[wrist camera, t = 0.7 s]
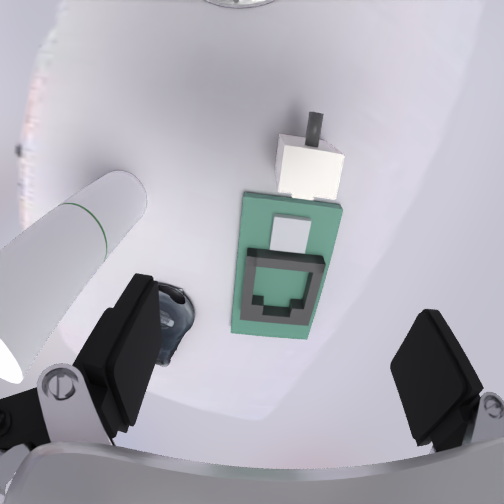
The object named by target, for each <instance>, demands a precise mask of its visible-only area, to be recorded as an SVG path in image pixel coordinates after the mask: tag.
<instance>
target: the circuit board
mask: <svg viewBox="0 0 504 504" xmlns="http://www.w3.org/2000/svg"><path fill="white" fill-rule="evenodd" d="M342 212H343V209H342V207H341V206H340V205H338V204H332V203H325V202H318V201H311V200H304V199H296V198H288V197H280V196H272V195H264V194H255V193H246V192H244V196H243V205H242V215H241V226H240V236H239V246H238V257H237V268H236V279H235V290H234V301H233V312H232V324H231V333H236V334H245V335H256V336H267V337H279V338H292V339H307V338H308V335H309V331H310V328H311V325H312V322H313V319H314V315H315V312H316V309H317V306H318V302H319V299H320V295H321V292H322V288H323V285H324V281H325V278H326V274H327V271H328V267H329V263H330V260H331V256H332V252H333V248H334V244H335V240H336V236H337V232H338V228H339V224H340V220H341V216H342Z"/></svg>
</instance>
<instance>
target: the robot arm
mask: <svg viewBox="0 0 504 504" xmlns="http://www.w3.org/2000/svg"><path fill="white" fill-rule="evenodd" d="M205 1H208V2H210V3H213V4H215V5H220V6H224V7H233V8H245V7H254V6H259V5H263V4H266V3H269V2H272V1H274V0H238V2H236V3H234V0H205ZM161 344H162V334H161V321H160V306H159V287H158V282H157V281H154V280H153V277H152V276H149V275H143V274H137V273H136V274H135V275H134V276H133V278H132V279H131V281H130V282H129V284H128V285H127V287H126V289H125V290H124V292H123V293H122V295H121V296H120V298H119V300H118V301H117V303H116V304H115V306H114V308H110V307H109V308H107V309H106V310H105V311H104V313H103V315H102V316H101V318H100V319H99V321H98V323H97V324H96V326H95V327H94V329H93V331H92V332H91V334H90V336H89V337H88V339H87V341H86V342H85V344H84V346H83V348H82V349H81V351H80V353H79V354H78V356H77V358H76V360H75V362H74V363H73V365H72V366H71V365H69V364H63V363H61V364H54V365H52V366H50V367H48V368H47V369H45V370H44V371H43V372H42V373H41V375H40V376H39V378H38V381H37V387H36V388H33V389H30V390H28V391H24V392H21V393H18V394H15V395H12V396H9V397H6V398H3V399H0V504H504V401H503V400H502V399H501V398H500V396H498V395H497V394H495V393H493V392H486V393H484V394H483V395H482V396H481V397H480V396H479V393H480V392H481V391H482V389H483V386H482V384H481V382H480V380H479V378H478V376H477V374H476V372H475V370H474V369H473V367H472V365H471V363H470V361H469V360H468V358H467V356H466V354H465V352H464V351H463V349H462V348H461V346H460V344H459V342H458V341H457V339H456V337H455V336H454V334H453V332H452V331H451V329H450V327H449V326H448V325H447V323H446V321H445V320H444V318H443V316H442V315H441V313H440V312H439V311H438V310H433V309H424V310H423V311H422V312H421V313H419V314H418V316H417V318H416V320H415V322H414V324H413V325H412V327H411V329H410V331H409V333H408V334H407V336H406V338H405V339H404V341H403V343H402V345H401V346H400V348H399V350H398V351H397V353H396V355H395V357H394V358H393V360H392V362H391V365H390V369H391V372H392V375H393V378H394V381H395V384H396V387H397V390H398V392H399V396H400V399H401V402H402V405H403V408H404V411H405V414H406V417H407V420H408V424H409V427H410V430H411V434H412V437H413V438H414V439H415V440H416V442H417V446H423V445H427V444H429V443H430V442H431V441H432V443H433V446H432V449H431V451H430V453H429V454H428V455H424V456H419V457H415V458H409V459H404V460H398V461H392V462H386V463H379V464H372V465H363V466H355V467H342V468H326V469H263V468H247V467H235V466H225V465H218V464H210V463H202V462H195V461H189V460H183V459H177V458H172V457H167V456H162V455H157V454H152V453H147V452H142V451H137V450H132V449H128V448H124V447H118V446H116V444H115V442H114V440H113V438H114V437H116V435H117V431H121V432H124V433H127V431H128V427H129V426H134V425H135V422H136V419H137V416H138V413H139V410H140V407H141V404H142V401H143V398H144V395H145V392H146V389H147V386H148V383H149V380H150V377H151V374H152V372H153V369H154V366H155V363H156V360H157V357H158V354H159V352H160V349H161ZM15 472H16V473H15ZM14 473H15V475H14ZM12 478H13V480H12V482H11V484H10V486H9V489H8V491H7V493H6V495H5V488H6V484H7V483H8V482H9V481H10V480H11V479H12Z"/></svg>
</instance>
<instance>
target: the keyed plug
mask: <svg viewBox="0 0 504 504" xmlns="http://www.w3.org/2000/svg"><path fill="white" fill-rule="evenodd" d="M322 121H323V114H321V113H316V112H309V119H308V126H307V133H306V137H299V136H292V135H285V134H279V140H278V148H277V155H276V163H275V175H276V182H277V188H278V192H283V193H291V196H292V198H299V199H306V200H313V199H314V197H320V198H327V199H333V200H336V196H337V191H338V187H339V182H340V177H341V172H342V167H343V161H344V156H345V155H344V154H343V153H342V152H340V151H339V150H338V149H336V148H335V147H333V146H332V145H331V144H329V143H328V142H327V141H324V140H320V134H321V127H322Z"/></svg>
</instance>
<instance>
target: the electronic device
mask: <svg viewBox="0 0 504 504" xmlns="http://www.w3.org/2000/svg"><path fill="white" fill-rule="evenodd" d="M159 286H162V287H167V288H170V289H173V290H175V291H177V292H178V293H180V294H181V295H182V296H183V297H184V298H185V304H178V303H176V302H174V301H173V300H172V299H171V298H170V296H169V295H168V294H165V293H163V292H161V291H159V306H160V321H161V334H162V344H161V349H160V352H159V354H158V357H157V360H156V363H155V364H157V365H160V366H162V367H166V366H168V365H169V364H170V361H171V360H170V359H171V357H172V356H173V354H174V352H175V351H176V350H177V347H178V345H179V343H180V341H181V339H182V338H183V336H184V334H185V333H186V332H187V331H188V330H189V329H190V328H191V327H192V325H193V322H194V310H193V307H192V305H191V303H190V302H189V301H188V299H187V298H186V297H185V296H184V295H183V293H182V292H183V289H176V288H174V287H171V286H166V285H158V287H159Z"/></svg>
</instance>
